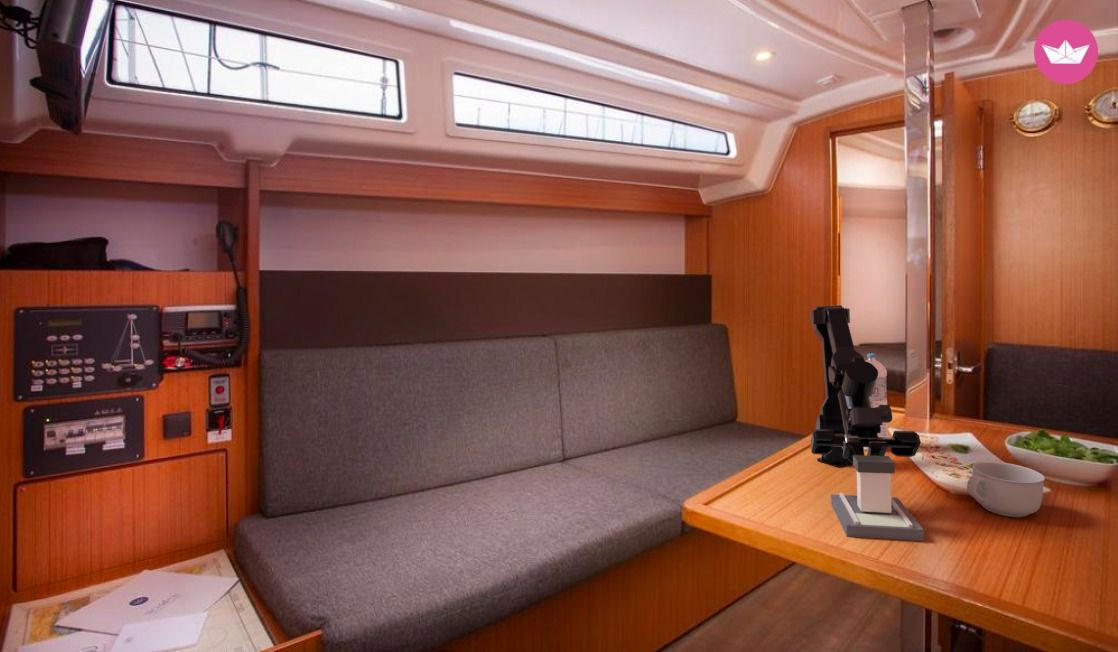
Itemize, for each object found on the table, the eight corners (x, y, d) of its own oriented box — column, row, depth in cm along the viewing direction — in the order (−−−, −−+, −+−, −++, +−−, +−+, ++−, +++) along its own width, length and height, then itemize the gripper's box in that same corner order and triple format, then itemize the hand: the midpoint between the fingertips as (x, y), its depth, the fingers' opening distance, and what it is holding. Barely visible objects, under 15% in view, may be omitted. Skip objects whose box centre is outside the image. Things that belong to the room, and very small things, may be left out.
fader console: (831, 504, 115) (830, 491, 115) (897, 507, 112) (897, 494, 112) (846, 536, 101) (846, 522, 101) (923, 541, 98) (923, 526, 97)
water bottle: (852, 447, 152) (850, 354, 150) (869, 443, 155) (868, 351, 153) (876, 453, 146) (874, 356, 144) (893, 449, 148) (892, 353, 147)
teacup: (1011, 498, 113) (1011, 459, 113) (1060, 521, 102) (1061, 477, 102) (942, 503, 113) (942, 463, 112) (985, 526, 102) (985, 482, 101)
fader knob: (853, 503, 109) (852, 455, 108) (889, 505, 107) (888, 456, 106) (858, 512, 105) (857, 461, 104) (895, 514, 103) (894, 462, 103)
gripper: (811, 389, 114) (821, 460, 104) (916, 389, 109) (938, 464, 99) (806, 419, 122) (815, 487, 112) (904, 420, 117) (923, 492, 107)
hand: (871, 482), depth 107 cm, fingers closed, pressing on fader knob
